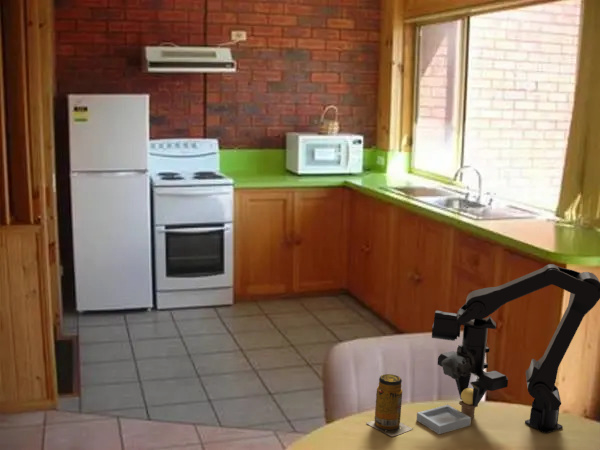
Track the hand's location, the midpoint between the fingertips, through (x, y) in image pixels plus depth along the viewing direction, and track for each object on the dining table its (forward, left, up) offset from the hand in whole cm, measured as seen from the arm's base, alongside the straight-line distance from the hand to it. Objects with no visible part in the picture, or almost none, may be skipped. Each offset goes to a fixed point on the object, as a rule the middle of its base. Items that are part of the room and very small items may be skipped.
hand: (468, 402), depth 184 cm
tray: (+9, +1, -3) cm, 9 cm away
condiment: (+22, -4, -4) cm, 22 cm away
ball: (0, 0, +2) cm, 2 cm away
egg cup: (0, 0, -3) cm, 3 cm away
